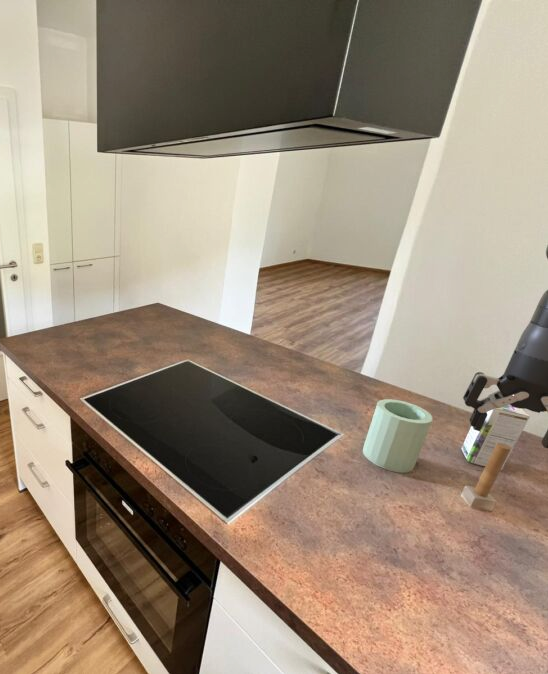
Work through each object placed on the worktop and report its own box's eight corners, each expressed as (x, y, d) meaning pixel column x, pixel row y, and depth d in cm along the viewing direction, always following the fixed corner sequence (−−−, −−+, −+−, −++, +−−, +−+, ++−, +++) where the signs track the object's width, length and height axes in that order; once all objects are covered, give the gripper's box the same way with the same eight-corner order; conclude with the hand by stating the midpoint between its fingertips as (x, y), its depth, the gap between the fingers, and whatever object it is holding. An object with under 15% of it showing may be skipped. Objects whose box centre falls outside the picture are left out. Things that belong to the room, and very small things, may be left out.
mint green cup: (403, 449, 86) (420, 403, 81) (421, 477, 78) (441, 426, 73) (357, 442, 89) (371, 396, 84) (370, 467, 80) (386, 418, 76)
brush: (478, 505, 70) (509, 442, 65) (488, 517, 68) (521, 453, 62) (457, 501, 71) (486, 438, 66) (467, 513, 69) (498, 449, 63)
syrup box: (459, 448, 86) (482, 395, 81) (494, 456, 83) (520, 402, 78) (467, 462, 81) (492, 407, 76) (503, 471, 79) (532, 415, 73)
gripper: (611, 355, 56) (563, 441, 62) (483, 336, 64) (451, 413, 70) (636, 373, 50) (580, 465, 56) (492, 350, 58) (457, 432, 64)
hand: (509, 437), depth 63 cm, fingers open, 8 cm apart
